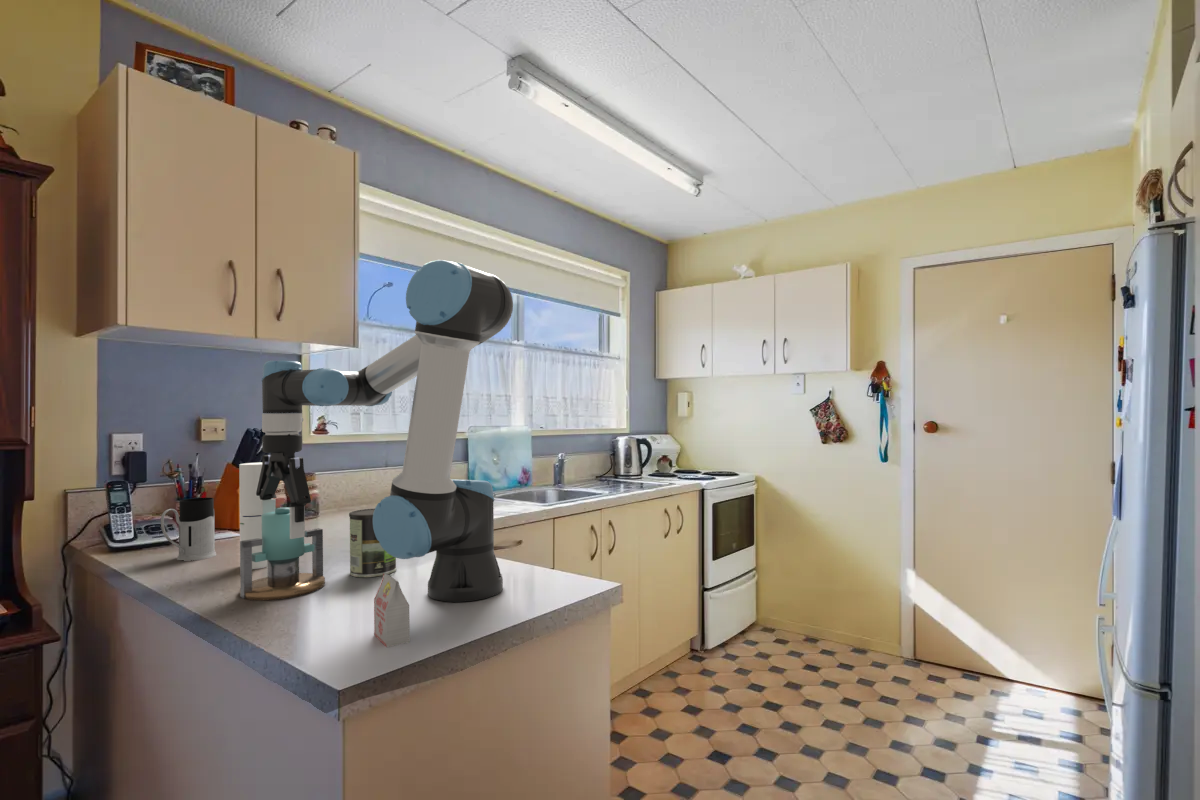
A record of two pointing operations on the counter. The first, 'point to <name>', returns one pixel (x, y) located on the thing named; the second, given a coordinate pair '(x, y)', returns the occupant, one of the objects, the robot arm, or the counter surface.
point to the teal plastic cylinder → (279, 538)
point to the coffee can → (367, 547)
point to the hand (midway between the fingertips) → (282, 533)
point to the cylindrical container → (250, 507)
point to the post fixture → (281, 573)
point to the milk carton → (391, 613)
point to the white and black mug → (194, 529)
